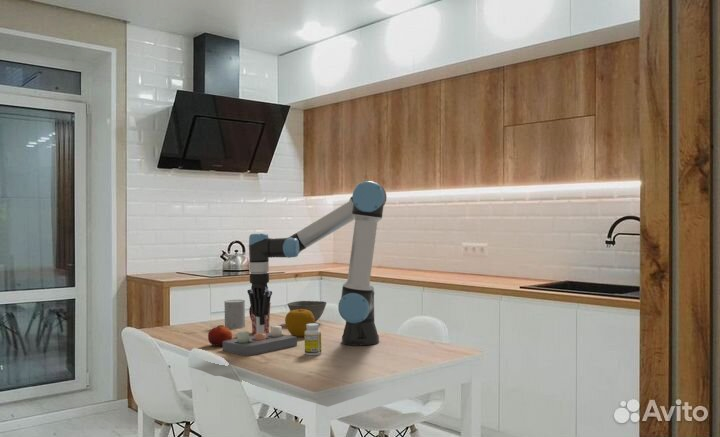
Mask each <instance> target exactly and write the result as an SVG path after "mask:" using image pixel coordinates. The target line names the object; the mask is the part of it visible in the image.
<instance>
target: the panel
mask: <svg viewBox="0 0 720 437" xmlns="http://www.w3.org/2000/svg"><path fill="white" fill-rule="evenodd" d="M265 334H266V340H261V341H257V340H255V339H254V335H249V343H245V344H239V343H238V339H237V338H232V340H227V341H223V346H222V351H225V352H228V353H233V354H237V355H240V354H241V356H244V357H245V356H246V357H250V356H254V355H260V354H264V353H269V352H273V351H279V350H283V349H288V348H292V347H297V346H298V337H297V336H293V335H288V334H283V333H282V337H276V338H274V337H271V331H269V333H265Z"/></svg>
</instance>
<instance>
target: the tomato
mask: <svg viewBox="0 0 720 437" xmlns="http://www.w3.org/2000/svg"><path fill="white" fill-rule="evenodd" d="M207 334H208V335H207V339H208V342H209V344H210V345H212V346H220V347H223V341H227V340H232V339H233V333H232V331H231V329H228V328H227V327H225V324H219V325H217V326H216V327H213V328H212V329H210V331H209V332H208V333H207Z"/></svg>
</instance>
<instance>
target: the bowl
mask: <svg viewBox="0 0 720 437" xmlns="http://www.w3.org/2000/svg"><path fill="white" fill-rule="evenodd" d="M286 305H287V307H288V309H289V312H290V311H292V310H297V309H306V310H309V311H311V312H312V314H313V316H314V318H315V323H316V322H318V320H319V319H320V318H321V317H322V315H323V313H324V311H325V309H326V306H327V302H326V301H324V300H323V301H319V300H316V301H315V300H298V301H292V302H288V303H287V304H286Z"/></svg>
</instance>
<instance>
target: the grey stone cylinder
mask: <svg viewBox="0 0 720 437" xmlns="http://www.w3.org/2000/svg"><path fill="white" fill-rule="evenodd" d="M245 306H246V301H245V300H244V299H227V300H224V326H225V327H227V328H228V329H229V330H231V329H232V330H235V329H237V328H238V329H243V327H244V328H245V327H246V313H245V312H246V309H245V308H246V307H245Z"/></svg>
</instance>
